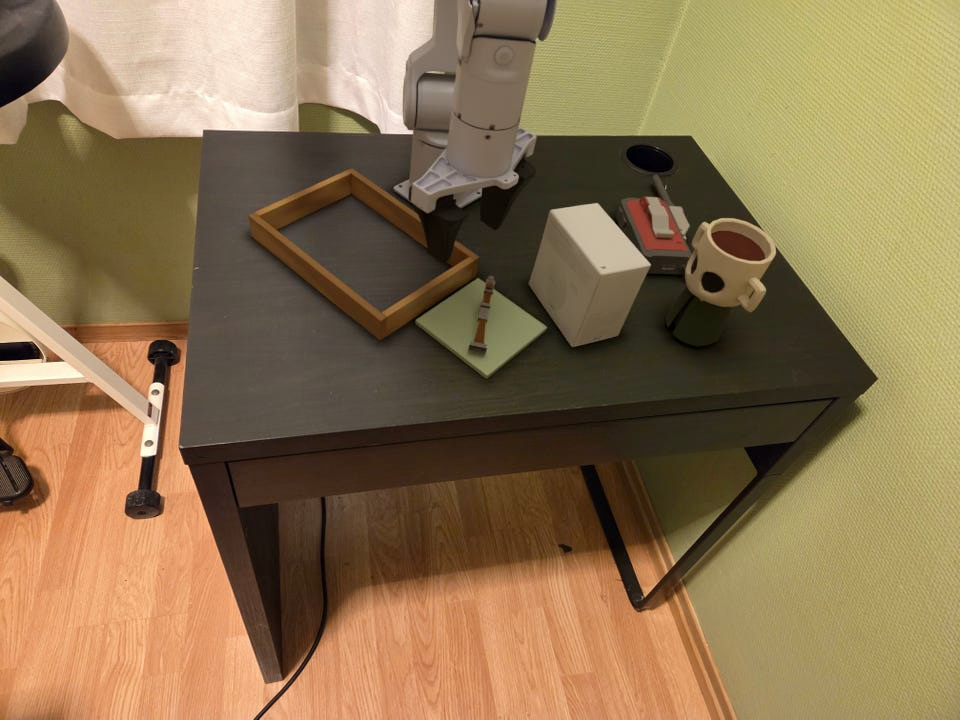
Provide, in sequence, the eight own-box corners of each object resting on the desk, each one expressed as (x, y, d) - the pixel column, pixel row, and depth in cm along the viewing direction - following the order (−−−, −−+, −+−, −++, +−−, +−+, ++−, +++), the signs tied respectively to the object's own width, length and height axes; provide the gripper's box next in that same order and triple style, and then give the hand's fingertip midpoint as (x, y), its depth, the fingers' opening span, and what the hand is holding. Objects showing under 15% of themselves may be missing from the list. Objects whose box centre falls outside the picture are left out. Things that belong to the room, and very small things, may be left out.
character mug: (640, 300, 77) (682, 209, 67) (690, 291, 79) (738, 202, 70) (690, 371, 71) (745, 282, 61) (743, 359, 73) (804, 271, 63)
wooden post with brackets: (496, 291, 72) (501, 274, 68) (483, 360, 70) (487, 347, 65) (479, 288, 72) (483, 270, 68) (466, 357, 70) (469, 344, 65)
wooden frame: (351, 188, 83) (351, 167, 80) (475, 277, 75) (479, 257, 73) (251, 236, 74) (247, 215, 72) (379, 341, 67) (380, 320, 65)
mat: (477, 281, 75) (478, 277, 75) (546, 330, 72) (547, 327, 71) (414, 323, 69) (415, 319, 69) (486, 379, 66) (487, 375, 65)
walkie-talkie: (705, 283, 81) (658, 184, 93) (721, 255, 78) (669, 157, 90) (638, 281, 79) (599, 181, 92) (650, 253, 76) (608, 153, 88)
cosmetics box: (621, 336, 73) (654, 263, 65) (571, 349, 70) (599, 276, 62) (574, 273, 78) (599, 199, 71) (526, 283, 76) (547, 208, 68)
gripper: (464, 165, 49) (444, 296, 59) (575, 106, 57) (541, 230, 68) (396, 122, 51) (389, 255, 62) (512, 71, 60) (488, 196, 70)
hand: (464, 240), depth 65 cm, fingers open, 7 cm apart
